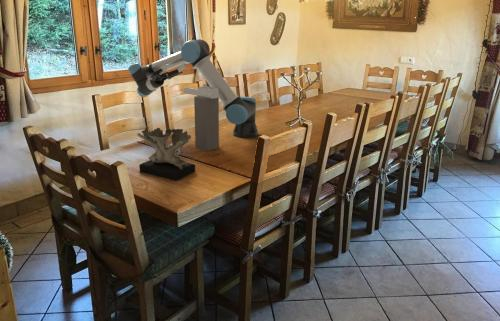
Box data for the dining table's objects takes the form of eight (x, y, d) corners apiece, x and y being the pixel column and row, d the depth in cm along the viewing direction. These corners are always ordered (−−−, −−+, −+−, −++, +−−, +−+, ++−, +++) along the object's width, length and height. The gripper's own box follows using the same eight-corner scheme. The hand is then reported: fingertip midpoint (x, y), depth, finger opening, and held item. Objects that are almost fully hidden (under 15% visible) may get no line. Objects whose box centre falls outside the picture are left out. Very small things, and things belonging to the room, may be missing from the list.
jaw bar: (182, 93, 223) (181, 84, 221) (189, 92, 226) (188, 83, 225) (211, 98, 210) (211, 89, 208) (218, 97, 213) (218, 87, 212)
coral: (201, 173, 187) (200, 128, 180) (171, 188, 171) (169, 138, 164) (160, 163, 200) (158, 120, 193) (128, 175, 183) (125, 129, 176)
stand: (195, 147, 224) (194, 96, 214) (207, 144, 230) (206, 94, 221) (207, 151, 218) (206, 99, 209) (218, 147, 225) (218, 96, 216)
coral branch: (173, 166, 206) (165, 155, 198) (165, 156, 211) (157, 145, 202) (187, 156, 208) (181, 144, 200) (179, 146, 212) (172, 134, 204)
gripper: (174, 85, 248) (195, 70, 233) (139, 90, 229) (160, 74, 215) (169, 74, 248) (190, 58, 233) (134, 78, 229) (155, 61, 215)
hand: (175, 66), depth 224 cm, fingers open, 13 cm apart
